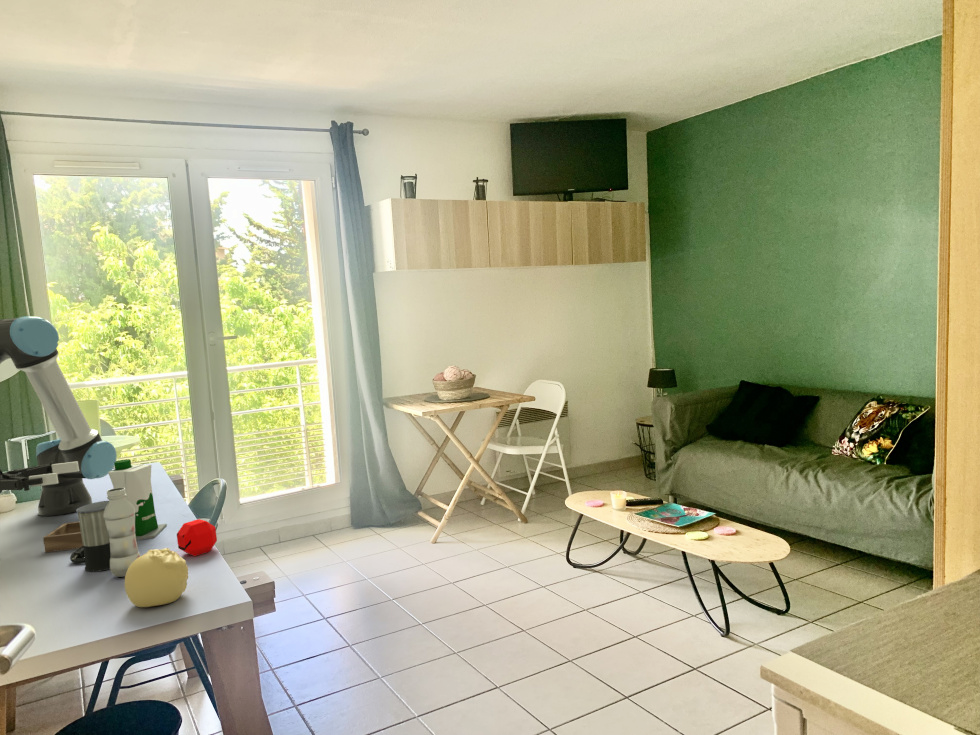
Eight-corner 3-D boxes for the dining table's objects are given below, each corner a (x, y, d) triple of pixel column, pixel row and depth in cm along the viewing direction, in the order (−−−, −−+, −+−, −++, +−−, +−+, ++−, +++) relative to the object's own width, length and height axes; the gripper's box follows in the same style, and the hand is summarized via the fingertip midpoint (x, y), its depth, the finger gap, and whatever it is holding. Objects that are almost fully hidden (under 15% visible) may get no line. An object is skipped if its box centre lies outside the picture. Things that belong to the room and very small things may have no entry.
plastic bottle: (120, 570, 171) (108, 487, 170) (148, 568, 171) (137, 484, 169) (105, 581, 165) (93, 494, 163) (134, 579, 165) (122, 492, 163)
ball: (175, 555, 180) (171, 524, 179) (206, 544, 186) (202, 515, 185) (191, 560, 174) (187, 529, 174) (222, 549, 180) (218, 519, 180)
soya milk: (135, 527, 206) (125, 457, 204) (163, 526, 204) (154, 456, 202) (113, 538, 197) (103, 465, 195) (143, 537, 195) (133, 463, 193)
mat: (125, 530, 205) (125, 528, 205) (166, 525, 207) (166, 523, 207) (111, 543, 194) (110, 541, 194) (154, 537, 196) (154, 535, 196)
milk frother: (115, 570, 172) (106, 509, 170) (48, 577, 172) (39, 515, 170) (143, 550, 186) (135, 493, 185) (81, 555, 186) (73, 498, 184)
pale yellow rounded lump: (197, 600, 149) (191, 548, 148) (133, 619, 142) (126, 565, 141) (184, 585, 158) (178, 536, 157) (123, 602, 151) (116, 551, 150)
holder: (66, 537, 204) (64, 523, 204) (115, 531, 206) (113, 517, 206) (45, 552, 191) (43, 537, 191) (97, 545, 193) (95, 531, 193)
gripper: (7, 484, 206) (87, 474, 209) (-43, 509, 181) (50, 498, 184) (2, 458, 205) (83, 448, 208) (-48, 480, 180) (45, 469, 183)
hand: (68, 472), depth 196 cm, fingers open, 13 cm apart
